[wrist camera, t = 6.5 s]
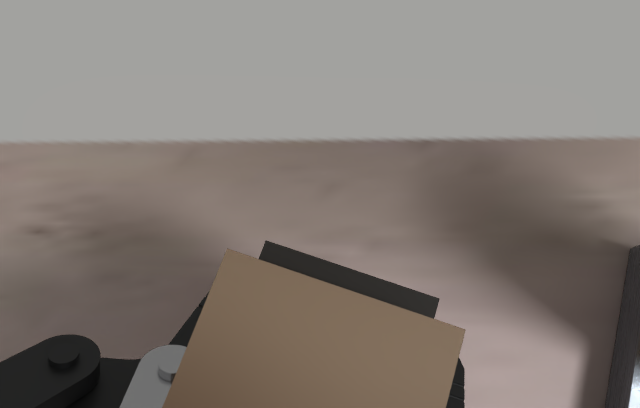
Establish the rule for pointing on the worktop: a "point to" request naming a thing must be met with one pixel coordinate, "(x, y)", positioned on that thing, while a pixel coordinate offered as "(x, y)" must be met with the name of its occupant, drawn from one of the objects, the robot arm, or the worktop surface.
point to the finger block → (313, 339)
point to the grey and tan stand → (627, 343)
